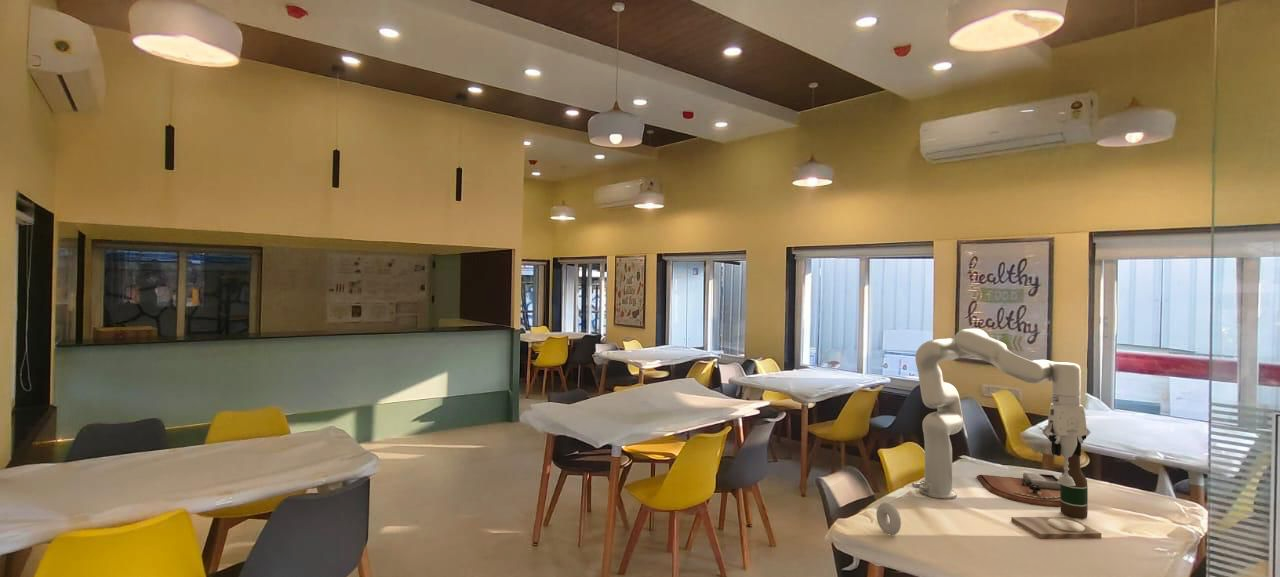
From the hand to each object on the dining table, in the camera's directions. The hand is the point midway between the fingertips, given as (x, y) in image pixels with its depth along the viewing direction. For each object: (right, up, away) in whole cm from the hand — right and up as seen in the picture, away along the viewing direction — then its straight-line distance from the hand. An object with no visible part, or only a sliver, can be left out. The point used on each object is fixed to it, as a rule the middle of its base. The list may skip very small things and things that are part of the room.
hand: (1066, 454), depth 194 cm
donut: (-60, -25, -3) cm, 65 cm away
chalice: (0, -10, 0) cm, 10 cm away
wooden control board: (+13, -26, +36) cm, 46 cm away
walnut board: (-3, -25, +1) cm, 25 cm away
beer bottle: (+12, -25, +13) cm, 31 cm away
